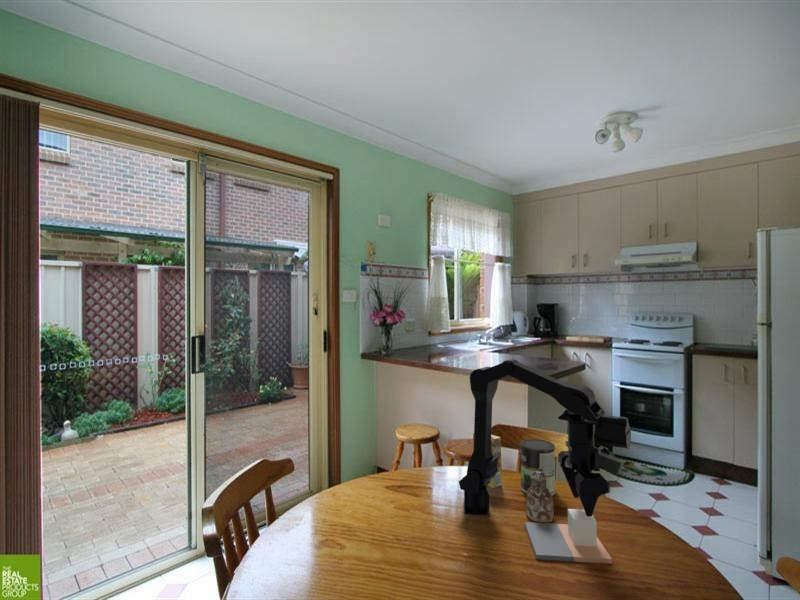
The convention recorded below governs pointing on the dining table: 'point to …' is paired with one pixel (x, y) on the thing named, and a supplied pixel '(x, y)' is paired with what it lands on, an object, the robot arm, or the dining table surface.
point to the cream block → (582, 528)
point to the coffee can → (537, 462)
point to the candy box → (497, 453)
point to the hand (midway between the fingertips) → (582, 506)
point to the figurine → (539, 499)
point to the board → (562, 545)
